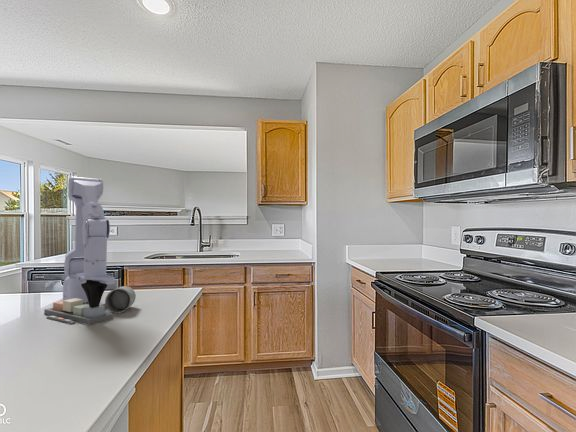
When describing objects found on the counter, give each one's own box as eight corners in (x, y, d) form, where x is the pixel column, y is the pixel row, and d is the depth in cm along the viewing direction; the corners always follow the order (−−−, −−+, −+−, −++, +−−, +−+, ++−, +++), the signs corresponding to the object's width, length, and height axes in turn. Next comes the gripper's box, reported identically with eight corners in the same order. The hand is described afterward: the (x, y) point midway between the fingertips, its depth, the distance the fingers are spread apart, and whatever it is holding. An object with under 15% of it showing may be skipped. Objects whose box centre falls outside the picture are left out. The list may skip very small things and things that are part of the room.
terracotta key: (52, 312, 105) (53, 302, 105) (65, 309, 108) (65, 299, 108) (60, 313, 103) (60, 304, 103) (72, 311, 106) (73, 301, 106)
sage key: (72, 316, 100) (73, 306, 100) (85, 313, 104) (85, 303, 104) (80, 318, 99) (81, 308, 99) (93, 315, 102) (93, 305, 102)
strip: (46, 318, 100) (46, 315, 100) (50, 317, 101) (50, 314, 101) (71, 324, 95) (71, 321, 95) (74, 323, 95) (75, 320, 95)
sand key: (62, 310, 102) (63, 300, 102) (75, 307, 106) (75, 298, 106) (70, 312, 101) (70, 302, 101) (83, 309, 104) (83, 299, 104)
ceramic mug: (136, 306, 115) (137, 283, 115) (130, 312, 107) (130, 288, 107) (102, 307, 113) (103, 284, 113) (94, 314, 105) (94, 289, 105)
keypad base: (44, 314, 104) (44, 309, 104) (67, 308, 110) (67, 304, 110) (90, 325, 94) (90, 320, 94) (112, 318, 100) (113, 313, 100)
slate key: (83, 317, 98) (83, 307, 98) (96, 314, 101) (96, 304, 101) (92, 319, 96) (92, 309, 96) (104, 316, 100) (104, 306, 100)
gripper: (66, 259, 99) (65, 306, 98) (98, 263, 92) (97, 313, 92) (89, 257, 105) (88, 301, 105) (121, 260, 99) (120, 307, 98)
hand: (94, 306), depth 99 cm, fingers closed, pressing on slate key
